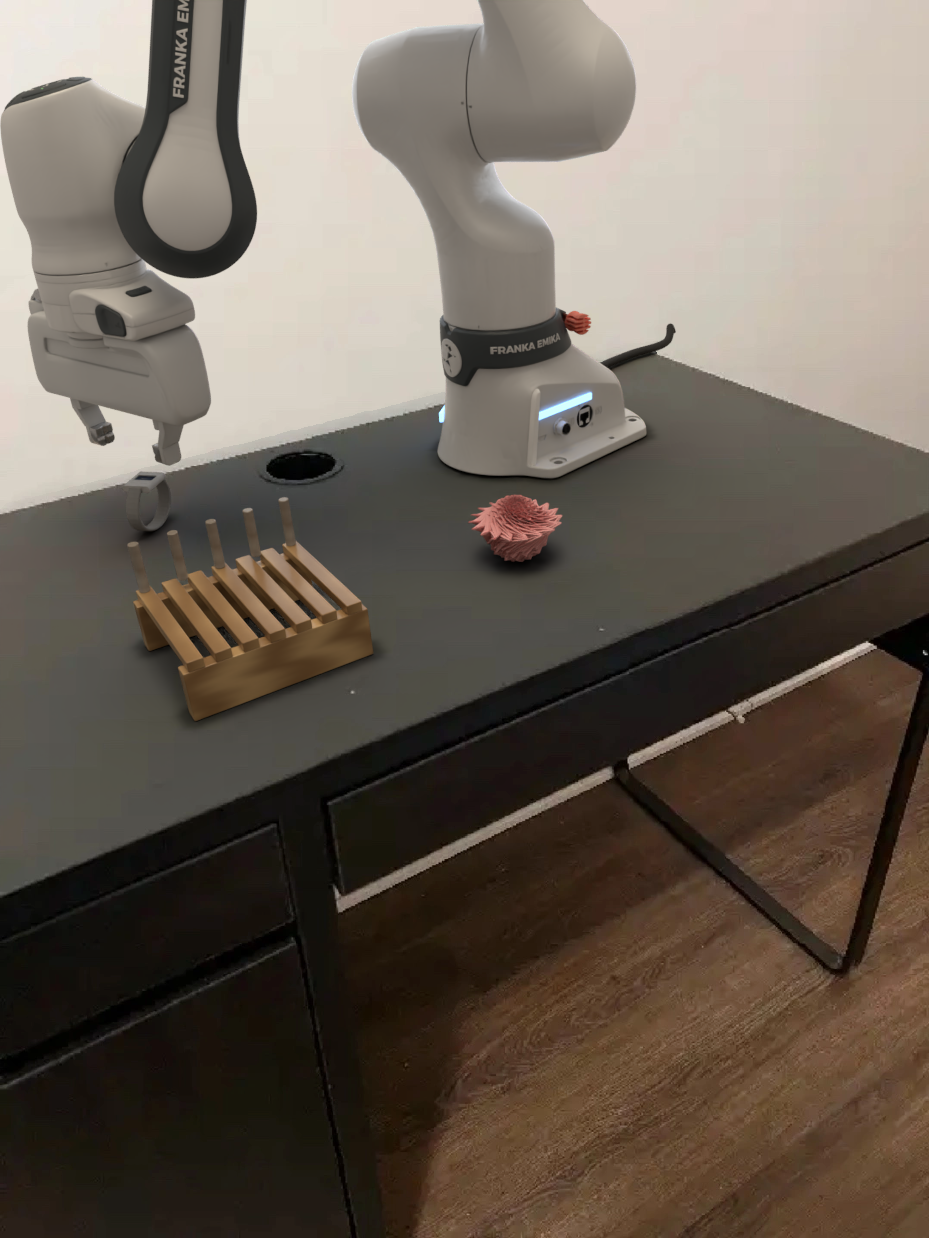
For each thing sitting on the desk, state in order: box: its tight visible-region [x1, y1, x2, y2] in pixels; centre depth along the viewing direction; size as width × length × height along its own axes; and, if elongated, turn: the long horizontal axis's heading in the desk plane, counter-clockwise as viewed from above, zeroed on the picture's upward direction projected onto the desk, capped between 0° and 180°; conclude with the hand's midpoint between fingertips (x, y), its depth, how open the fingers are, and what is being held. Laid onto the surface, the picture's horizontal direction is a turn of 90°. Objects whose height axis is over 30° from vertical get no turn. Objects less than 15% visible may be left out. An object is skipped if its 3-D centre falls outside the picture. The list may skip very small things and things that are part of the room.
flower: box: [467, 494, 563, 563], centre depth 87 cm, size 8×8×6 cm
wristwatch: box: [121, 470, 172, 532], centre depth 97 cm, size 6×3×5 cm, turn 167°
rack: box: [126, 496, 374, 722], centre depth 76 cm, size 14×12×9 cm
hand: (135, 452), depth 93 cm, fingers open, 8 cm apart
